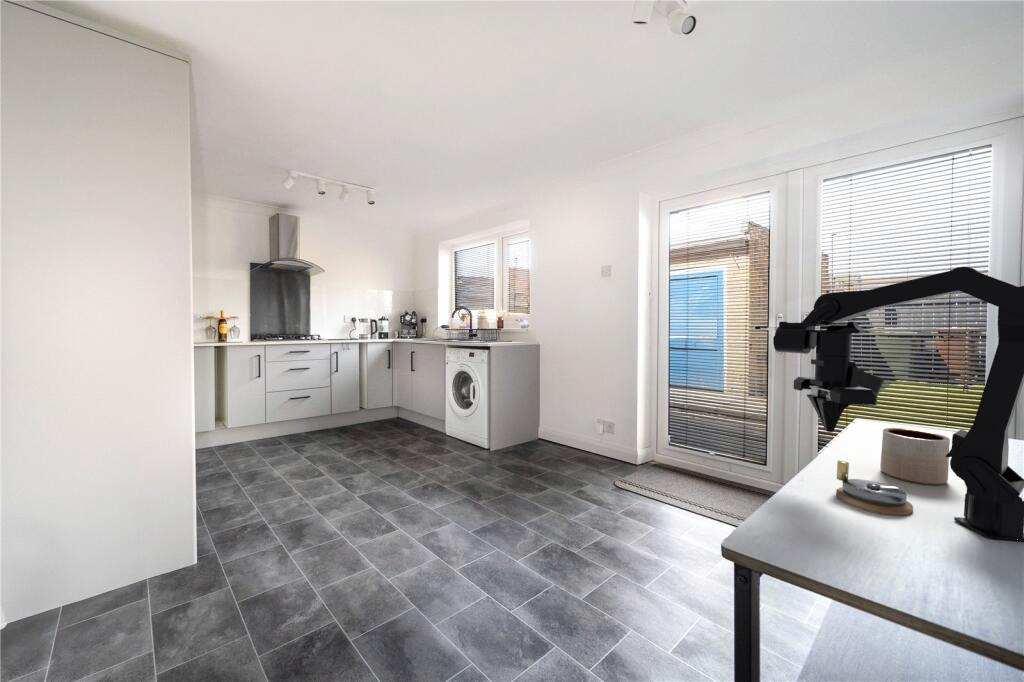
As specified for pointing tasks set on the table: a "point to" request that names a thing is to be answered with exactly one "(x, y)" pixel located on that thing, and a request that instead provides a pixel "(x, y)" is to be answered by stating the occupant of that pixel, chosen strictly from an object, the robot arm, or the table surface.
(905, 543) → the table surface
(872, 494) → the dial
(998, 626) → the table surface
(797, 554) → the table surface
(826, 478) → the table surface
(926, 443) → the planter
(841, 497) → the stand
